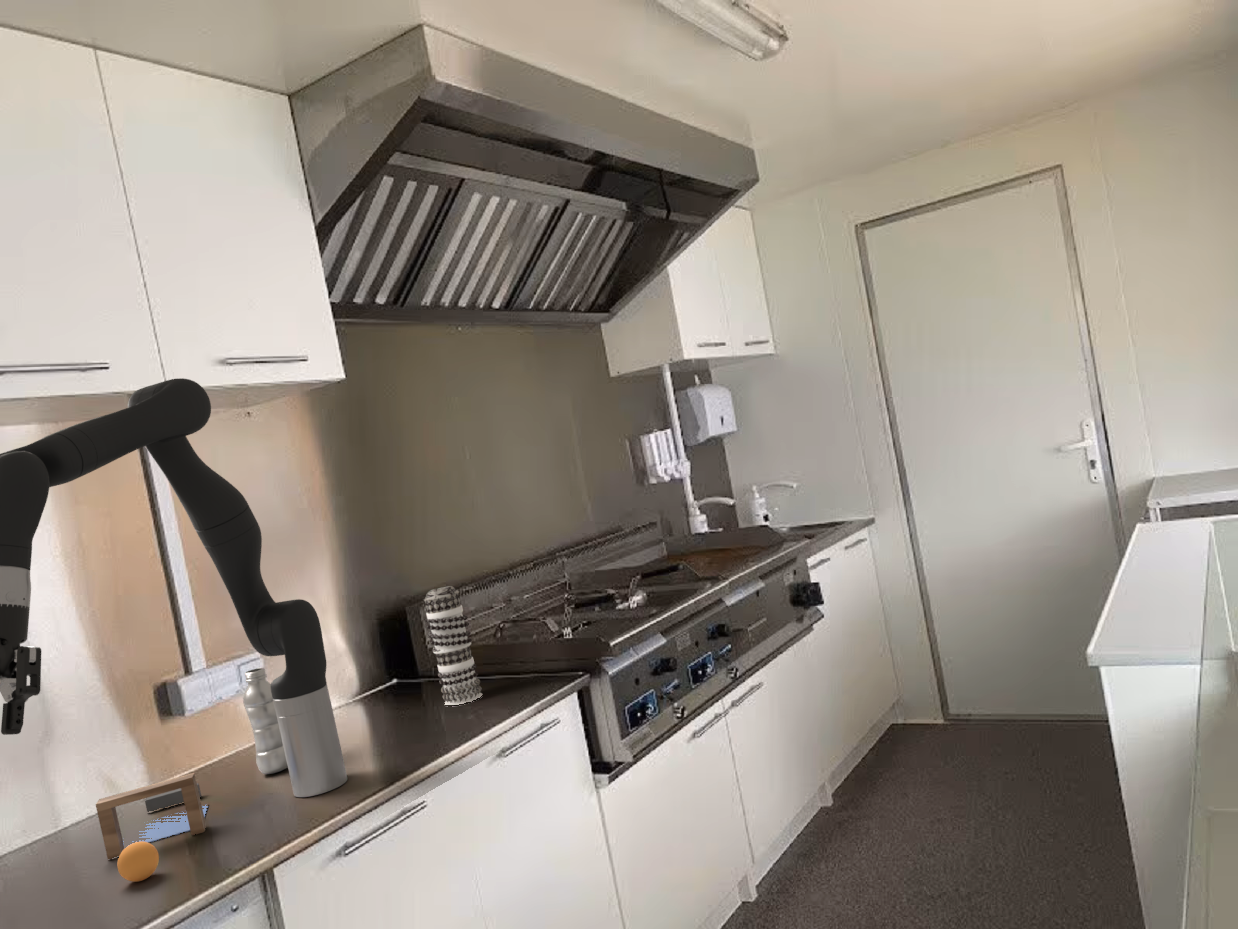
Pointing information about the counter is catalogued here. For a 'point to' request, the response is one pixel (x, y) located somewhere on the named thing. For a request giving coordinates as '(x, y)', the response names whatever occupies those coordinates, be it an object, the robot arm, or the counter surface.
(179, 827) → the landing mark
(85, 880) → the counter surface
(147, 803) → the strip
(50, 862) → the counter surface
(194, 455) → the robot arm
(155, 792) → the bridge
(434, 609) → the decorative candle
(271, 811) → the counter surface
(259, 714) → the plastic bottle
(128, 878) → the ball
